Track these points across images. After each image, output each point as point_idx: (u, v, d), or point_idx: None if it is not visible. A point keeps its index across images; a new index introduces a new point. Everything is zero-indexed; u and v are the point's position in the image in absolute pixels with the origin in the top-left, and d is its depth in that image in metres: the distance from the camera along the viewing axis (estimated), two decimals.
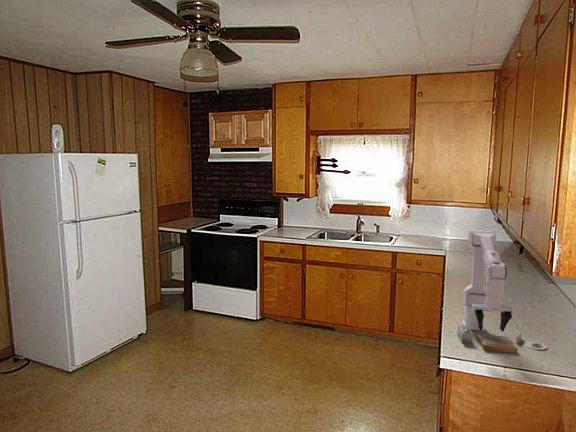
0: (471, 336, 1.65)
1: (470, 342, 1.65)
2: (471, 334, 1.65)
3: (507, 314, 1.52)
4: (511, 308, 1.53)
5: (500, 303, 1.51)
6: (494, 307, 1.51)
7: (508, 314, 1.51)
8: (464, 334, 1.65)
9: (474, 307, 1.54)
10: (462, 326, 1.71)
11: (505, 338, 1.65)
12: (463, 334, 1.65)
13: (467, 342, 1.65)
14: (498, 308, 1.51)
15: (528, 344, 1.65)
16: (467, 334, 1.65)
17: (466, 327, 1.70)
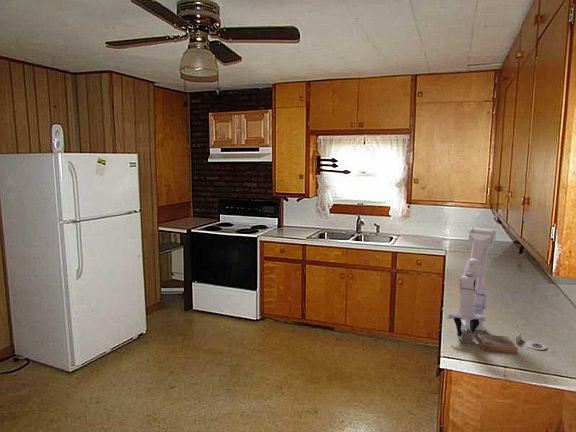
0: (471, 336, 1.65)
1: (470, 342, 1.65)
2: (471, 334, 1.65)
3: (479, 322, 1.65)
4: (483, 316, 1.66)
5: (472, 312, 1.65)
6: (467, 315, 1.65)
7: (476, 321, 1.66)
8: (464, 334, 1.65)
9: (449, 315, 1.68)
10: (462, 326, 1.71)
11: (505, 338, 1.65)
12: (463, 334, 1.65)
13: (467, 342, 1.65)
14: (470, 316, 1.65)
15: (528, 344, 1.65)
16: (467, 334, 1.65)
17: (466, 327, 1.70)
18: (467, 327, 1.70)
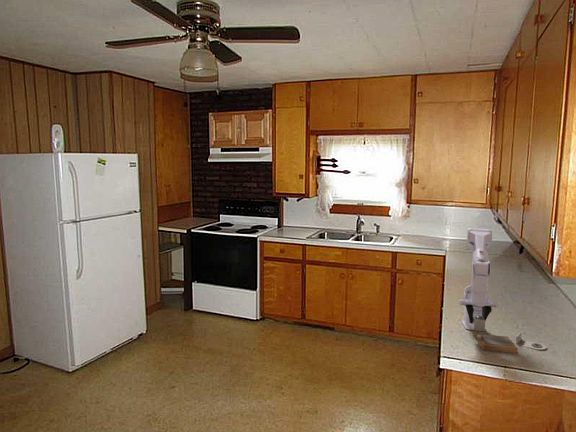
0: (483, 323, 1.62)
1: (482, 329, 1.62)
2: (483, 321, 1.62)
3: None
4: None
5: (485, 298, 1.62)
6: (479, 302, 1.62)
7: (488, 308, 1.63)
8: (476, 321, 1.62)
9: (461, 302, 1.65)
10: (473, 313, 1.68)
11: (505, 338, 1.65)
12: (475, 321, 1.62)
13: (479, 329, 1.62)
14: (483, 303, 1.62)
15: (528, 344, 1.65)
16: (479, 321, 1.62)
17: (478, 314, 1.67)
18: (479, 314, 1.67)
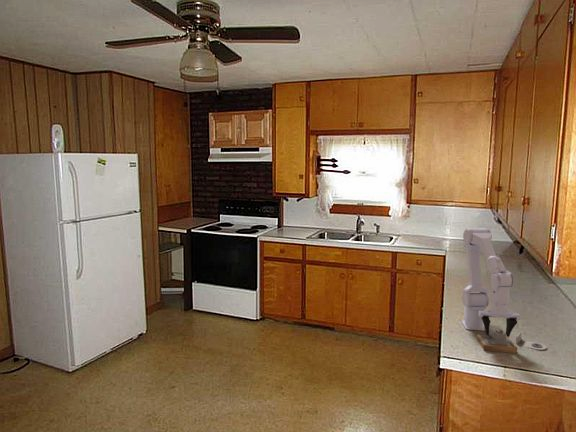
0: (504, 337, 1.58)
1: (503, 343, 1.59)
2: (504, 334, 1.58)
3: (512, 320, 1.59)
4: (516, 314, 1.60)
5: (506, 310, 1.59)
6: (500, 313, 1.59)
7: (513, 320, 1.59)
8: (497, 334, 1.59)
9: (481, 313, 1.62)
10: (493, 326, 1.65)
11: None
12: (496, 334, 1.59)
13: (500, 343, 1.59)
14: (504, 314, 1.59)
15: (528, 344, 1.65)
16: (500, 334, 1.59)
17: (498, 327, 1.64)
18: (499, 328, 1.64)
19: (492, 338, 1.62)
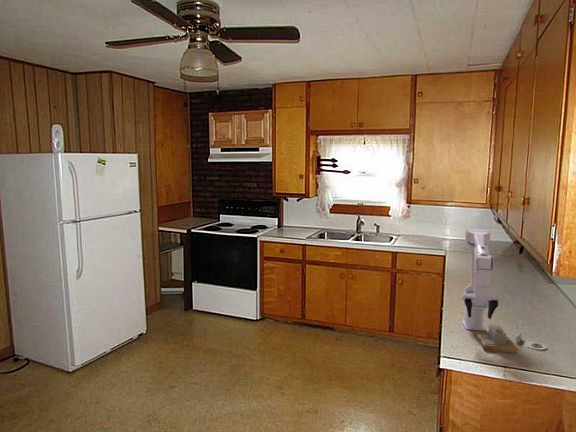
0: (504, 337, 1.58)
1: (503, 343, 1.59)
2: (504, 334, 1.58)
3: (494, 302, 1.63)
4: (498, 297, 1.64)
5: (487, 292, 1.63)
6: (482, 296, 1.63)
7: (495, 302, 1.63)
8: (497, 334, 1.59)
9: (463, 296, 1.66)
10: (493, 326, 1.65)
11: None
12: (496, 334, 1.59)
13: (500, 343, 1.59)
14: (485, 297, 1.63)
15: (528, 344, 1.65)
16: (500, 334, 1.59)
17: (498, 327, 1.64)
18: (499, 328, 1.64)
19: (492, 338, 1.62)
